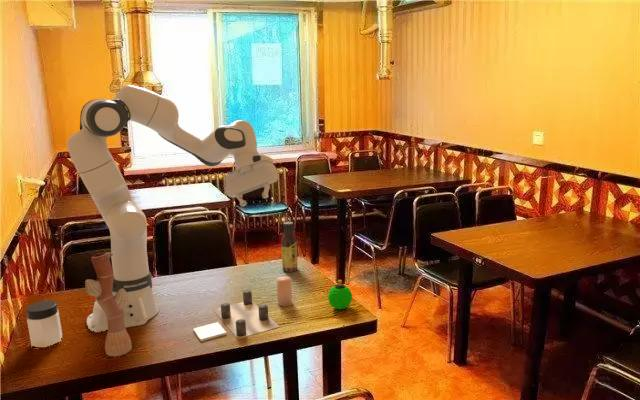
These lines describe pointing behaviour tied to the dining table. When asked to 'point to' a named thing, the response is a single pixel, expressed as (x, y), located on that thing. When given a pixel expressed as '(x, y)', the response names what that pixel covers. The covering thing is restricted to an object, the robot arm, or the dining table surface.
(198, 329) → the mat
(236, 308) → the post board
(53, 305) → the jar
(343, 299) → the ornament
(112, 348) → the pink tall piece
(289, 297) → the tan cylinder block
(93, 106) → the robot arm
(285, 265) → the sauce bottle
